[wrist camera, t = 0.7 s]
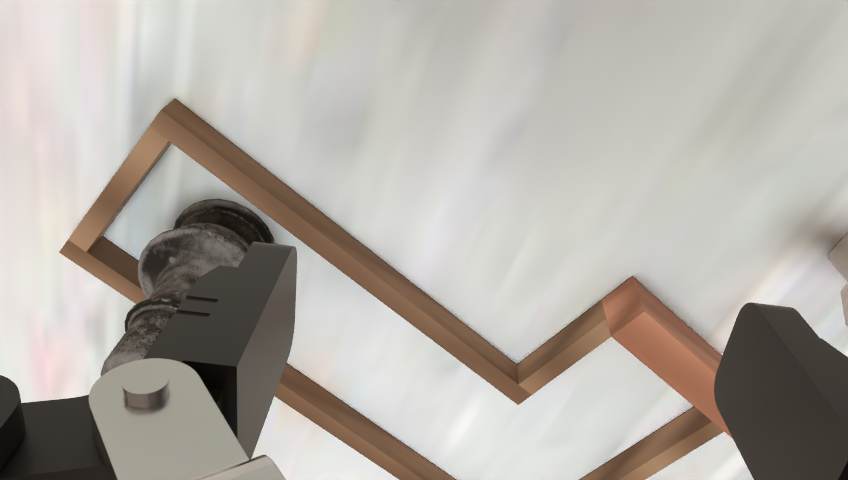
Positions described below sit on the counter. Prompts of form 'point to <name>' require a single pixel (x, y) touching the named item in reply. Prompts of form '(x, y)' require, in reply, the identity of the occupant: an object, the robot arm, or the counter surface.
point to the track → (417, 313)
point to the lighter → (841, 268)
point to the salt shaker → (184, 268)
